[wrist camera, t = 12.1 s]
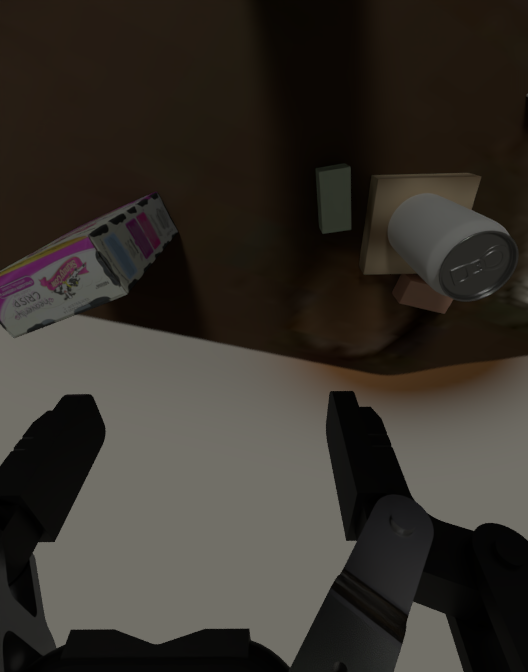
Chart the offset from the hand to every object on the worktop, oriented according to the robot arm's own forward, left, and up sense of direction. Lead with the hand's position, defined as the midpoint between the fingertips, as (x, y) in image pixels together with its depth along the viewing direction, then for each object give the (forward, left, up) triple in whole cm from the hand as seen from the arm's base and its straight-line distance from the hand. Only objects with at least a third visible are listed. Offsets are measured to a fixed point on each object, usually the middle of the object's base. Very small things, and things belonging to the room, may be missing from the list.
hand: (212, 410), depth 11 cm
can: (+2, +18, -28) cm, 33 cm away
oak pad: (+2, +18, -30) cm, 35 cm away
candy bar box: (+2, -14, -30) cm, 33 cm away
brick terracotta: (+10, +21, -30) cm, 38 cm away
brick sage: (-1, +9, -30) cm, 32 cm away
